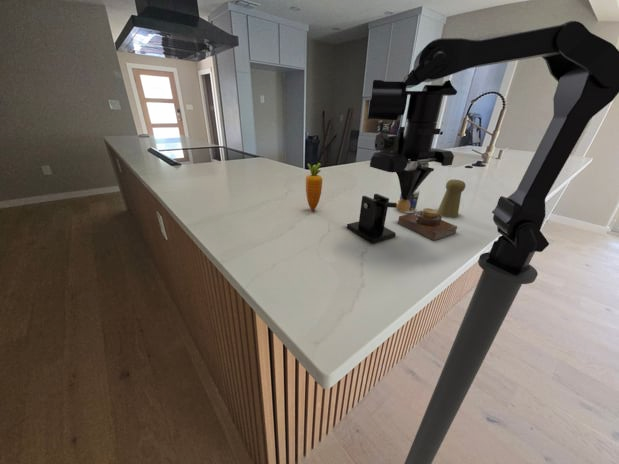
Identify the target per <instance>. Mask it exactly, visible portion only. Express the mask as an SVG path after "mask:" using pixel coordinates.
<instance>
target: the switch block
mask: <svg viewBox="0 0 619 464" xmlns="http://www.w3.org/2000/svg"><path fill="white" fill-rule="evenodd" d="M422 211H423V210H418V211H415V212H413V213H406V214H402V215H399V216H398V220H397V224H399V225H400V226H402V227H405V228H407V229H409V230H411V231H413V232H415V233H417V234H419V235H421V236H424V237H425V238H428V239H429V240H432V241H437V240H441V239H443V238H446V237H449V236H452V235H455V234H456V231H457V229H458V225H456V224H453V223H450V222H448V221H445V220H443V218H442V217H443V216H441V215H439V214H438V213H437V214H436V218H427V217H424V216H422Z"/></svg>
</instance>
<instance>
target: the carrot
mask: <svg viewBox="0 0 619 464" xmlns="http://www.w3.org/2000/svg"><path fill="white" fill-rule="evenodd" d="M321 166H322V164H321V163H320V162H317V164H313V165H311V164H310V163H307V167H308V169H309V171H310V174H308V175H307V176H306V177H305V195H306V201H307V203H308V206H309V208H310V210H311V211H312V212H314V211H315V210H316V208H317V207H318V204H319V202H320V199H321V195H322V189H323V177H322V176H321V175H319V173H320V172H321V171H322V170H321V169H320V167H321Z"/></svg>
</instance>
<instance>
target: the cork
mask: <svg viewBox="0 0 619 464" xmlns="http://www.w3.org/2000/svg"><path fill="white" fill-rule="evenodd" d="M445 189H446V191H445V193H444V195H443V197H442V200H441V202H440V204H439V207H438V209H437V210H436V211H437V214H439V215H440V216H442V217H444V218H451V219H453V218H458V216H459V211H460V204H461V197H462V192H464V191H465V189H466V183H465V181H463V180H460V179H449V180H448V181H447V182H446V184H445Z"/></svg>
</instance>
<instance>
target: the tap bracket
mask: <svg viewBox="0 0 619 464" xmlns="http://www.w3.org/2000/svg"><path fill="white" fill-rule="evenodd" d="M374 199H382V202H390V198H389V197H386V196H384V195H382V194H379V193H374V194H373V198H372V197H370V196H368V195H362V196H361V202H360V211H359V217H358V218H359V219H358V221H354V222H349V223H347V224H346V228H347V230H349V231H351V232H353V233H354V234H356V235H357V236H359V237H360V238H362V239H363V240H365V241H367V242H368V243H369V244H375V243H378V242H383V241H386V240H389V239H394V238H396V232H395V231H393V230H391V229H389V228H387V227H385V225H386V218H387V213H388V208H389V207H382V208H381V209H376V206H377V201H376V200H374Z"/></svg>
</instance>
